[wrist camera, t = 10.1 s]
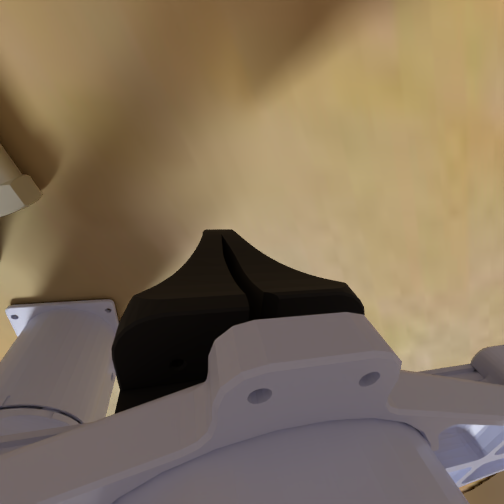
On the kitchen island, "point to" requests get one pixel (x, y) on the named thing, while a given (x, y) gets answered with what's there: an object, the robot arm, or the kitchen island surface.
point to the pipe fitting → (15, 186)
